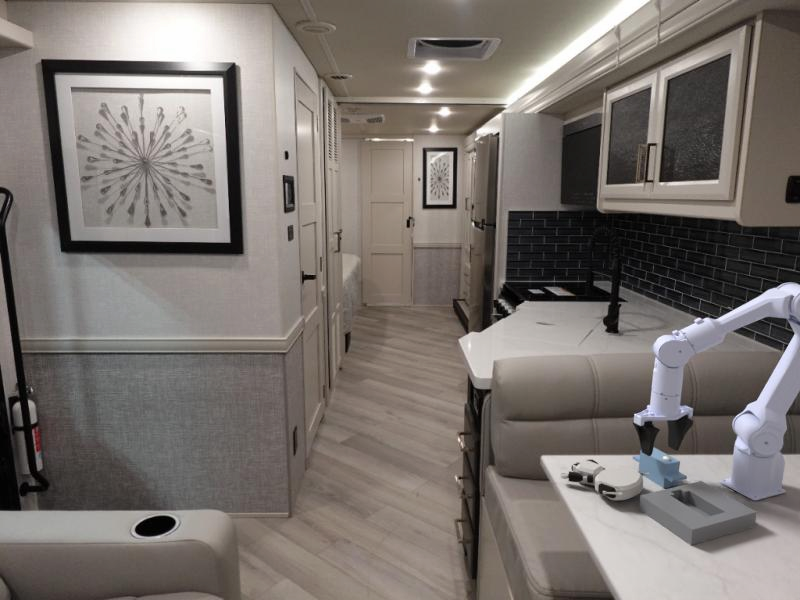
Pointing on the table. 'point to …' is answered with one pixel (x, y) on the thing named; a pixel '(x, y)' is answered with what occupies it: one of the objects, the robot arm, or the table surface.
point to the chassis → (697, 512)
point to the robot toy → (607, 479)
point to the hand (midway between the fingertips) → (660, 451)
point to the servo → (660, 468)
